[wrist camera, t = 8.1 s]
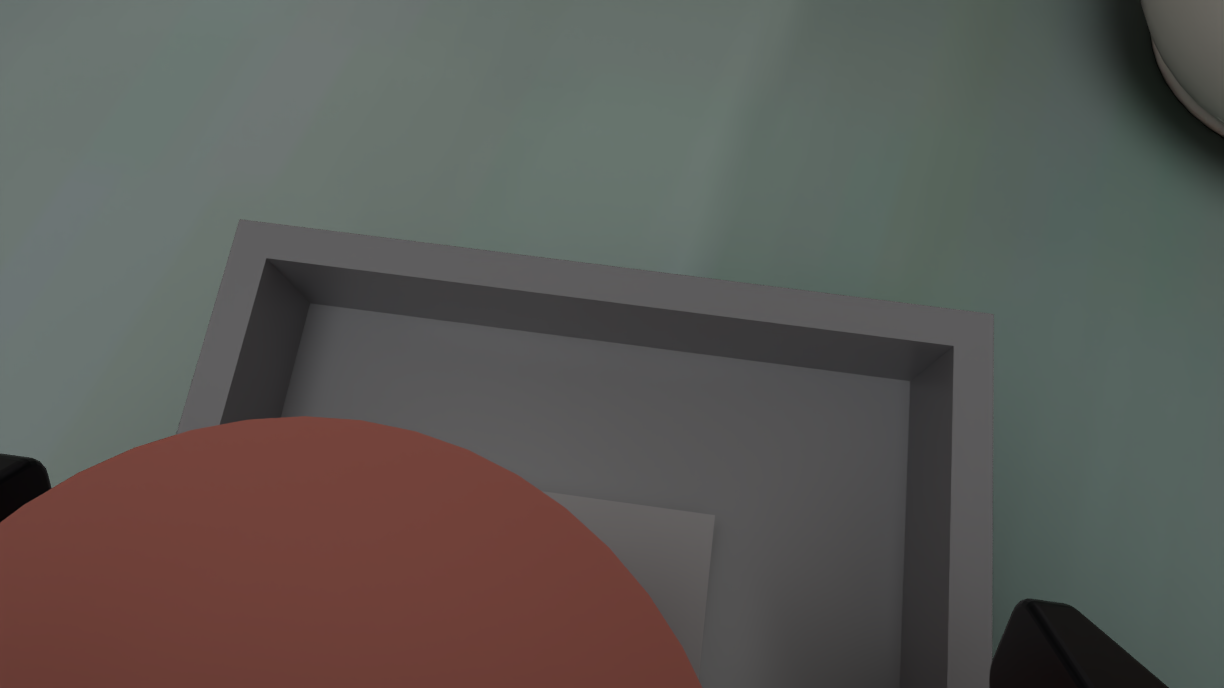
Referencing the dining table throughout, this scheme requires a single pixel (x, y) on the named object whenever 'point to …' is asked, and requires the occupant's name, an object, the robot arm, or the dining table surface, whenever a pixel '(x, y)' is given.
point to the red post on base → (342, 570)
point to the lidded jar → (1191, 54)
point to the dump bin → (664, 426)
